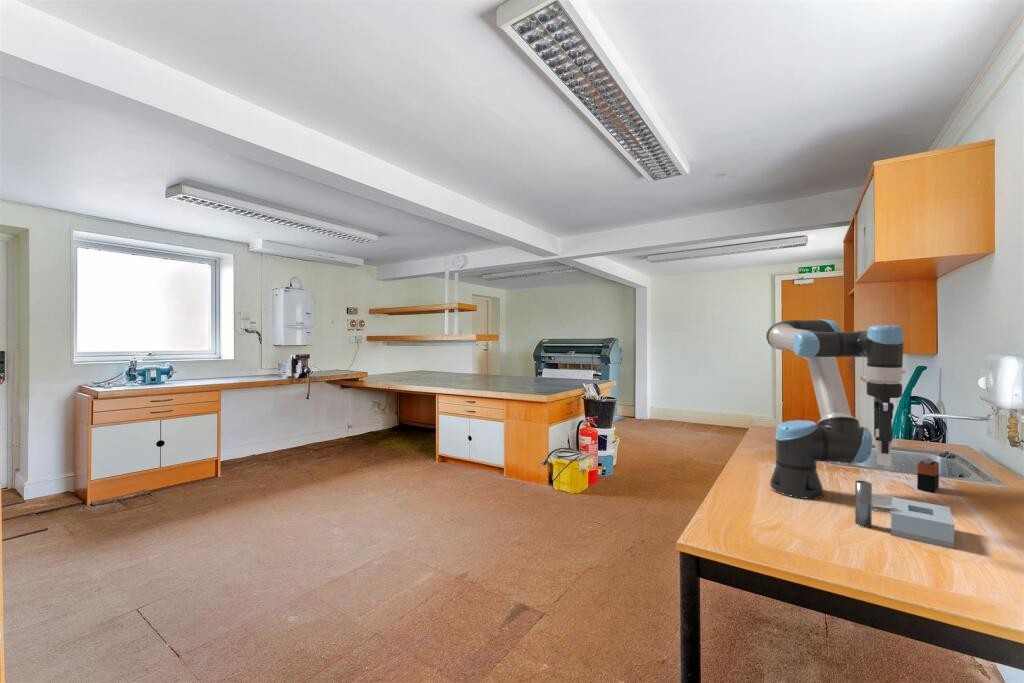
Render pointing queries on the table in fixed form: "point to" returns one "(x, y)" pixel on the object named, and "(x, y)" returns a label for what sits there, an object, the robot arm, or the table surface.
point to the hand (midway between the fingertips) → (882, 458)
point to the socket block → (922, 522)
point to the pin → (863, 503)
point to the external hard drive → (882, 502)
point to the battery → (928, 475)
